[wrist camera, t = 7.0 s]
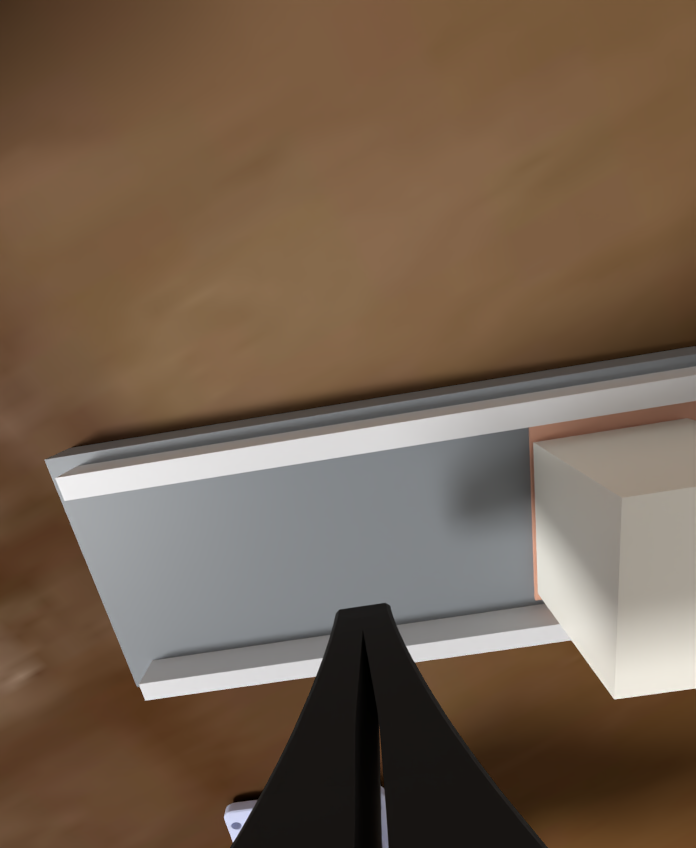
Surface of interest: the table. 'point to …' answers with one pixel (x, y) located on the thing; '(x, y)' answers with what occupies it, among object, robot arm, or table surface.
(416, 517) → the rail base
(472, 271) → the table surface
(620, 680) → the slider block
